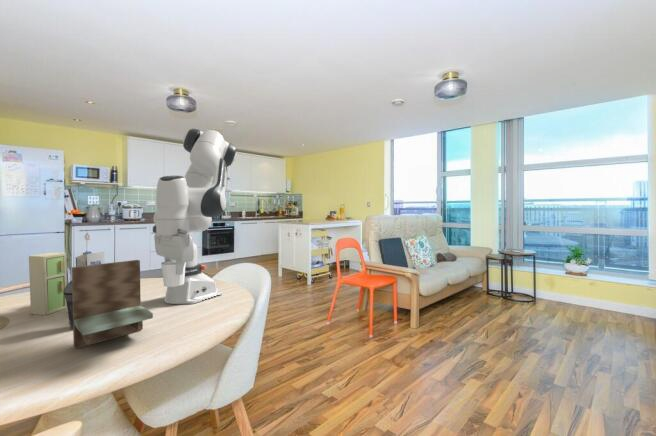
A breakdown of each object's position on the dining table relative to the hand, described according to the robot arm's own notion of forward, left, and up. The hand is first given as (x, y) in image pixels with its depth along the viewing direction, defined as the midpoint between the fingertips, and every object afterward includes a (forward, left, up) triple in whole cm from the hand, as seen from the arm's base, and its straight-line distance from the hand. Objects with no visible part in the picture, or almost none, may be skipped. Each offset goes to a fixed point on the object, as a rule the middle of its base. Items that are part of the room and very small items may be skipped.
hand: (174, 272), depth 94 cm
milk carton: (+10, -57, -18) cm, 61 cm away
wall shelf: (+15, -4, -18) cm, 24 cm away
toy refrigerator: (+23, -52, -19) cm, 60 cm away
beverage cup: (+19, -26, -18) cm, 37 cm away
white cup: (0, 0, -4) cm, 4 cm away
